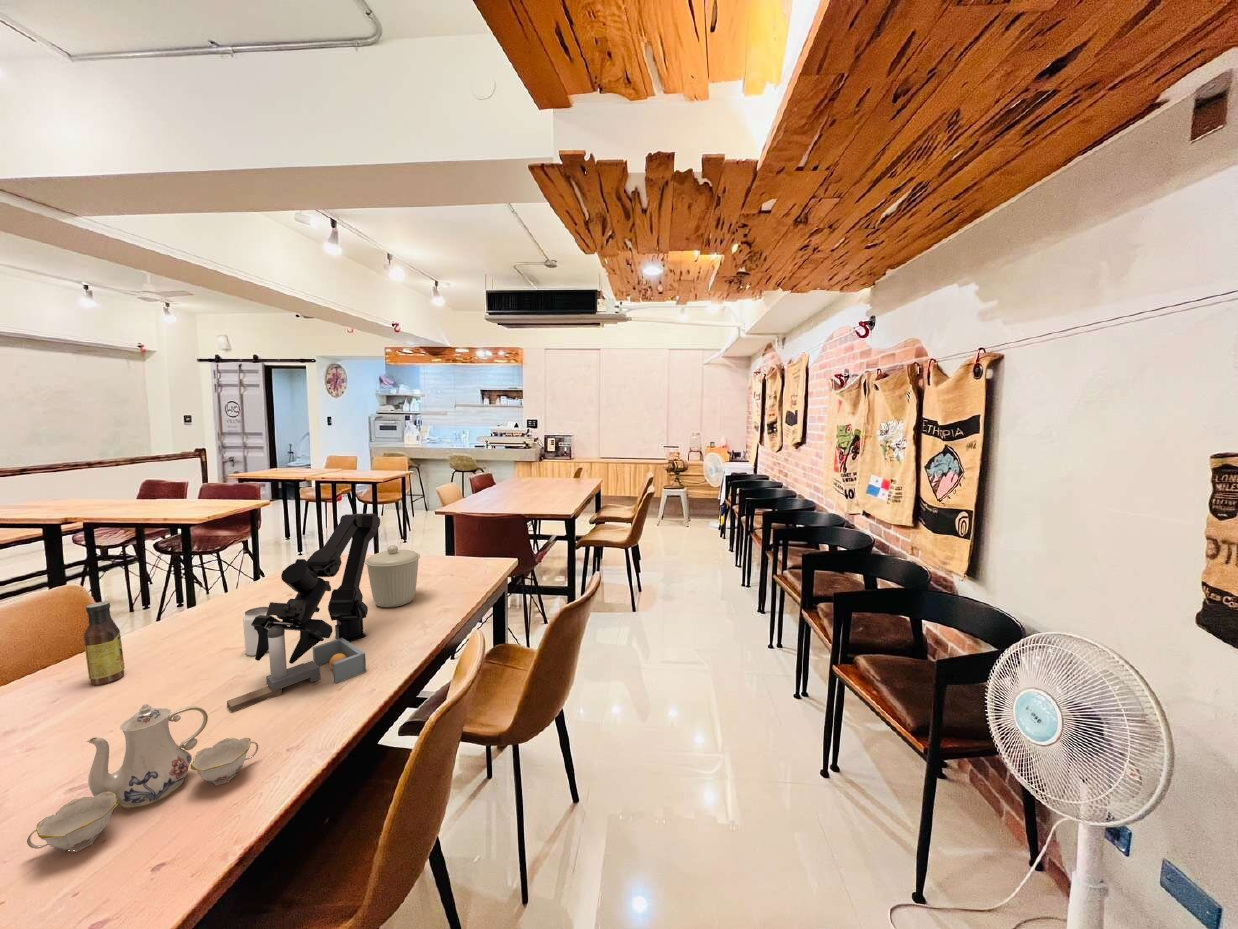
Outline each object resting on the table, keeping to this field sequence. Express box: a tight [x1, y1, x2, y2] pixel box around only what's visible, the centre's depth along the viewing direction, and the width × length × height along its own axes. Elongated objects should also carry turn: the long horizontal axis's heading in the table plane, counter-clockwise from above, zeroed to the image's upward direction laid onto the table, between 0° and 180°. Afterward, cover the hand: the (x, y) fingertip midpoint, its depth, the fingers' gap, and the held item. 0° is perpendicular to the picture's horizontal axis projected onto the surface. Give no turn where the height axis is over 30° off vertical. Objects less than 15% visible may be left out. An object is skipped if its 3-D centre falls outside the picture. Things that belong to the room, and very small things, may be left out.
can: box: [242, 606, 273, 657], centre depth 135 cm, size 6×6×12 cm
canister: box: [364, 544, 421, 608], centre depth 171 cm, size 18×18×21 cm
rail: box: [226, 685, 283, 713], centre depth 112 cm, size 10×4×1 cm, turn 141°
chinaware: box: [26, 703, 259, 853], centre depth 82 cm, size 28×17×17 cm, turn 146°
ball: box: [329, 653, 347, 670], centre depth 126 cm, size 4×4×4 cm
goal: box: [312, 638, 367, 684], centre depth 126 cm, size 7×14×5 cm, turn 51°
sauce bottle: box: [83, 601, 125, 686], centre depth 120 cm, size 6×6×20 cm
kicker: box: [265, 625, 321, 691], centre depth 118 cm, size 10×5×16 cm, turn 141°
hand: (273, 661), depth 114 cm, fingers open, 9 cm apart
